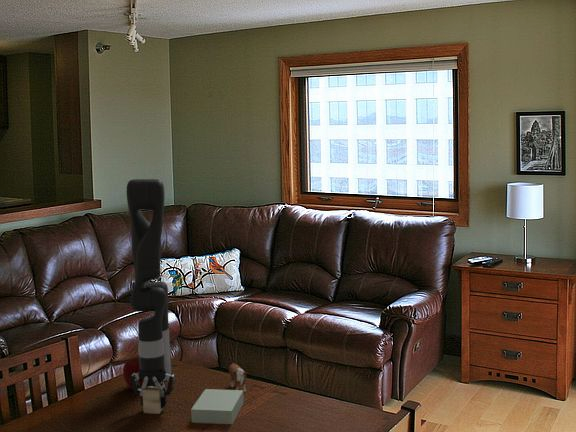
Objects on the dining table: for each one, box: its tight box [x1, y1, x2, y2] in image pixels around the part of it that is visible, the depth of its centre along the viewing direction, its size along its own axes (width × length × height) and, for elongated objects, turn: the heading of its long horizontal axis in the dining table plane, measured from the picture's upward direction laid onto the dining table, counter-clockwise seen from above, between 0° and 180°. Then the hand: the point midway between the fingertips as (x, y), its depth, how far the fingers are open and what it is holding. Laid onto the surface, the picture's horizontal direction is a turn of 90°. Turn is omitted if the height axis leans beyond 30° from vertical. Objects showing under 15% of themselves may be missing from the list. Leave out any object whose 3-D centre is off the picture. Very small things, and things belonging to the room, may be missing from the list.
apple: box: [122, 357, 143, 390], centre depth 240 cm, size 10×10×10 cm
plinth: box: [190, 388, 245, 425], centre depth 220 cm, size 16×12×4 cm
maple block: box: [142, 386, 166, 415], centre depth 222 cm, size 5×5×7 cm
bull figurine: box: [228, 362, 248, 393], centre depth 238 cm, size 4×13×8 cm, turn 16°
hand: (154, 407), depth 223 cm, fingers closed on maple block, 5 cm apart
